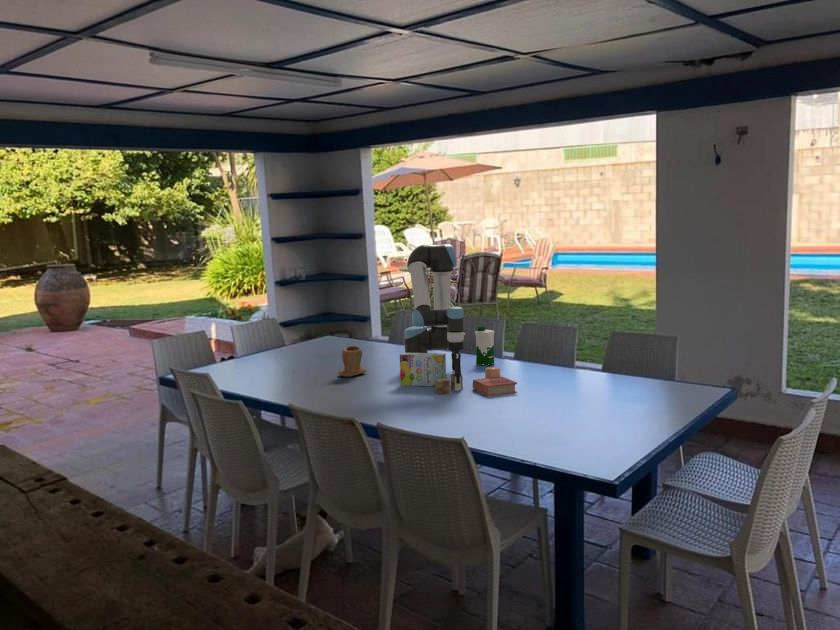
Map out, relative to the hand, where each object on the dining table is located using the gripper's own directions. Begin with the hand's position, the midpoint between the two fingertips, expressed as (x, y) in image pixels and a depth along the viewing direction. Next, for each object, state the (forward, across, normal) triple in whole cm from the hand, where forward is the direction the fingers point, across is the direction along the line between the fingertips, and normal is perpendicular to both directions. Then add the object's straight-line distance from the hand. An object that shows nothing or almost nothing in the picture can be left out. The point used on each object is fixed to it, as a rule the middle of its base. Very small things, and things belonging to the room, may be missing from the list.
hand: (456, 387), depth 332 cm
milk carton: (0, +53, -20) cm, 57 cm away
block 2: (0, 0, 0) cm, 0 cm away
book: (+1, -10, -16) cm, 19 cm away
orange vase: (0, +36, +49) cm, 61 cm away
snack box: (0, +8, +15) cm, 17 cm away
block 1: (0, -10, +7) cm, 12 cm away
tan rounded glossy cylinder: (0, +2, -17) cm, 17 cm away
